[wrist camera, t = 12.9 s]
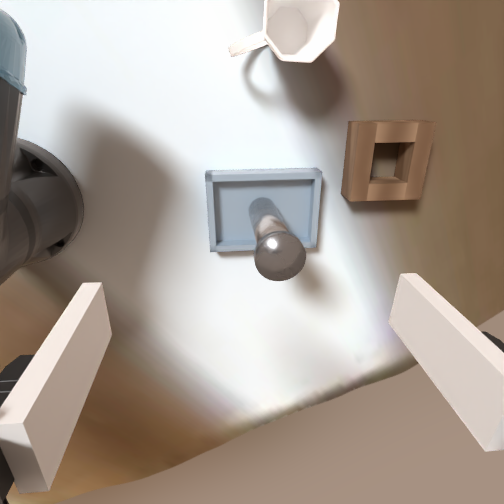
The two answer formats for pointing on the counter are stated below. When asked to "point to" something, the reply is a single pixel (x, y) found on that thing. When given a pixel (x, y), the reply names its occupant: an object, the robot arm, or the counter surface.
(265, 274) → the pin
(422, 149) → the socket block
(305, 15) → the cup
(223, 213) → the tray
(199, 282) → the counter surface
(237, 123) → the counter surface
